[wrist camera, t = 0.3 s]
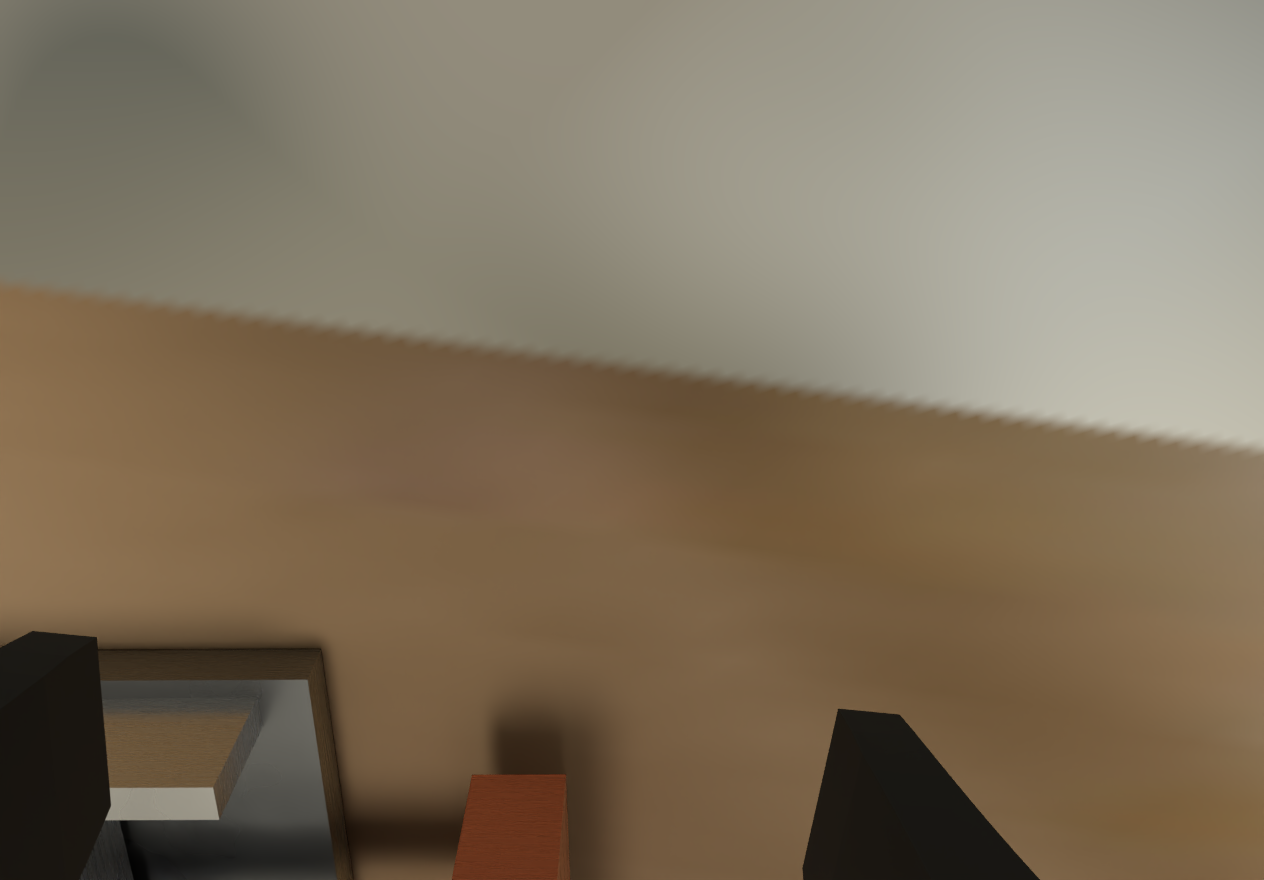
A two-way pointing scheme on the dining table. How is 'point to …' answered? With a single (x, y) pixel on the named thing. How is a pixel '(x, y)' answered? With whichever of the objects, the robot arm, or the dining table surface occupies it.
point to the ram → (489, 842)
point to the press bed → (223, 764)
